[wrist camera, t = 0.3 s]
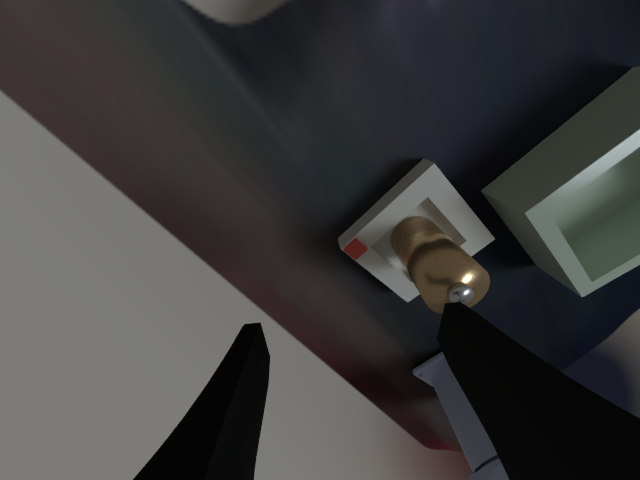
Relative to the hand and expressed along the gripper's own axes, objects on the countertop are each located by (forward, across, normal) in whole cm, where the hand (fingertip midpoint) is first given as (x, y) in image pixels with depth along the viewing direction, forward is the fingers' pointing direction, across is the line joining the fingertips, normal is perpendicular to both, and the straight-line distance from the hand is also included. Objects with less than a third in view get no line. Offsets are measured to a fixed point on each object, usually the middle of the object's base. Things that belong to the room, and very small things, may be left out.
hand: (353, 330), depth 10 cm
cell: (+9, -6, +1) cm, 11 cm away
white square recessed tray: (+10, -6, +1) cm, 12 cm away
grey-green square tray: (+10, -18, -1) cm, 20 cm away
